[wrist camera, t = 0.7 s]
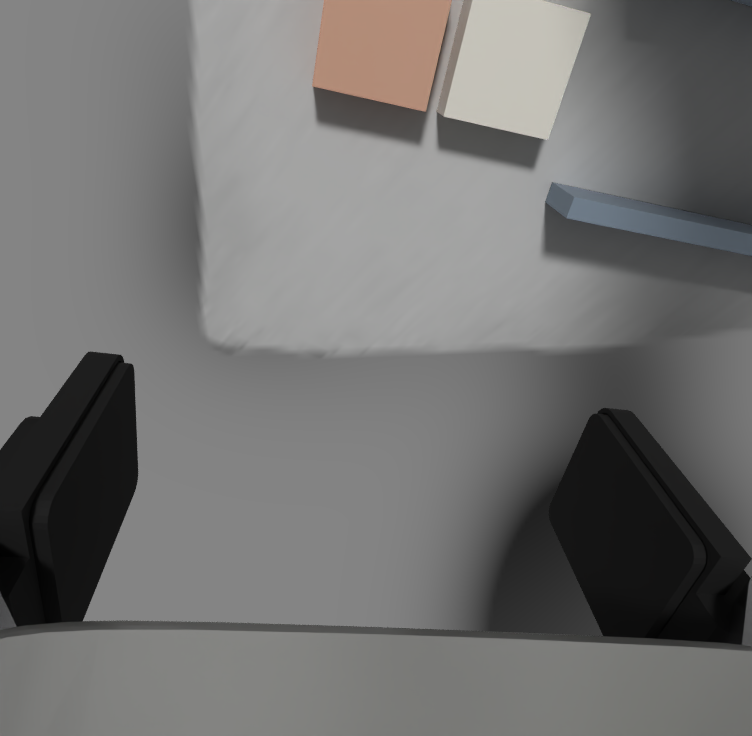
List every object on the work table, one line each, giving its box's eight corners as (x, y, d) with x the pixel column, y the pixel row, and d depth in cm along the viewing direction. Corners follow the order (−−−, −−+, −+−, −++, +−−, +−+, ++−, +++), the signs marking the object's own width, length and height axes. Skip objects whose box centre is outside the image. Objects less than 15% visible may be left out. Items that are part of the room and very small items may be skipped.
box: (638, -59, 28) (676, -69, 25) (934, 32, 32) (998, 32, 29) (545, 201, 35) (566, 218, 32) (798, 254, 38) (839, 273, 35)
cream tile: (465, -15, 29) (477, -18, 27) (572, 14, 30) (591, 13, 28) (435, 110, 32) (443, 116, 30) (533, 132, 33) (547, 140, 31)
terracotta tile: (331, -52, 28) (332, -58, 26) (447, -20, 29) (457, -24, 27) (312, 82, 31) (312, 86, 29) (418, 106, 32) (425, 111, 30)
